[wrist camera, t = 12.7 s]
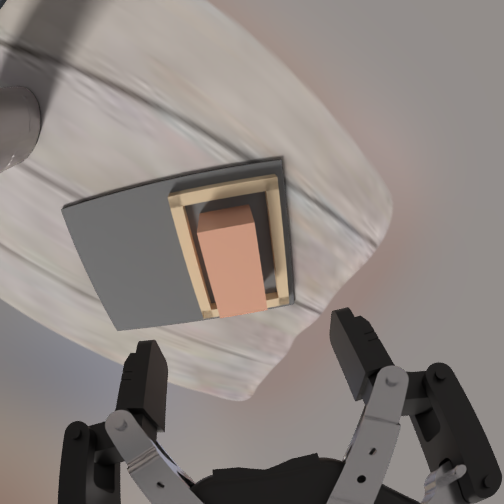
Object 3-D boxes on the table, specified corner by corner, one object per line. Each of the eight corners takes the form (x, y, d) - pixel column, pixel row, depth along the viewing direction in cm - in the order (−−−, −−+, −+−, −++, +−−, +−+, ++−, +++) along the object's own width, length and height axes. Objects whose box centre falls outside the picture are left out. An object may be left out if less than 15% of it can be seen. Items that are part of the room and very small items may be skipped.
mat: (117, 328, 35) (115, 337, 34) (62, 208, 26) (56, 214, 25) (293, 302, 36) (296, 310, 34) (280, 159, 27) (284, 162, 25)
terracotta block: (199, 213, 28) (196, 233, 24) (249, 204, 28) (254, 222, 24) (219, 292, 33) (220, 318, 29) (261, 284, 33) (267, 309, 29)
